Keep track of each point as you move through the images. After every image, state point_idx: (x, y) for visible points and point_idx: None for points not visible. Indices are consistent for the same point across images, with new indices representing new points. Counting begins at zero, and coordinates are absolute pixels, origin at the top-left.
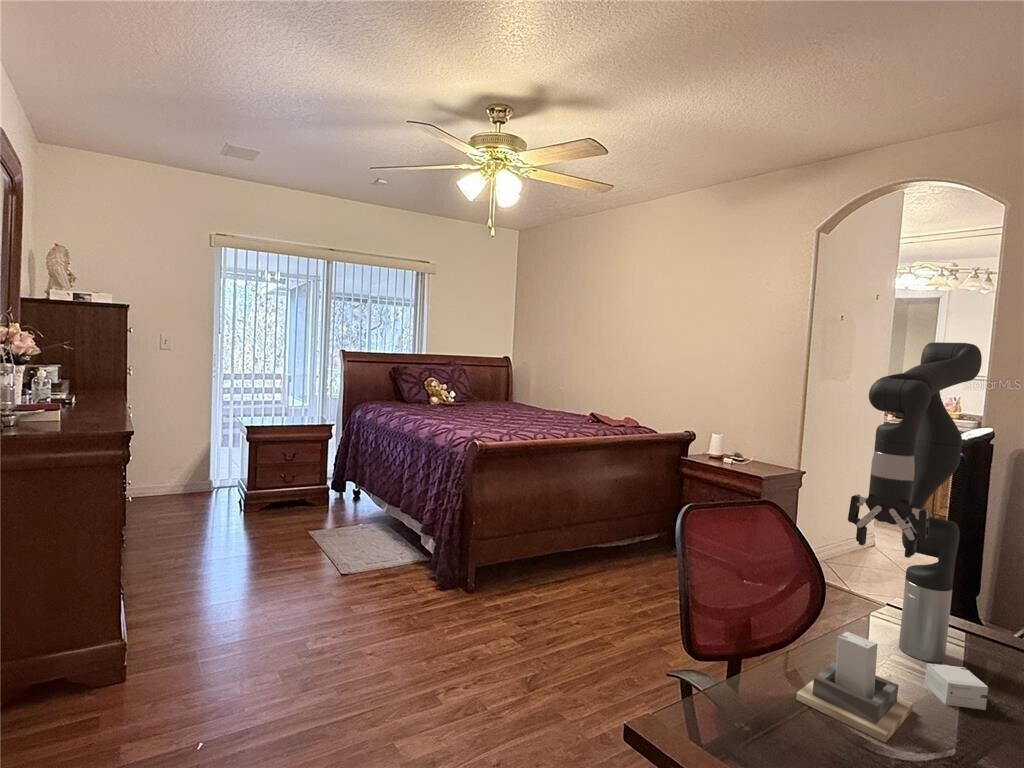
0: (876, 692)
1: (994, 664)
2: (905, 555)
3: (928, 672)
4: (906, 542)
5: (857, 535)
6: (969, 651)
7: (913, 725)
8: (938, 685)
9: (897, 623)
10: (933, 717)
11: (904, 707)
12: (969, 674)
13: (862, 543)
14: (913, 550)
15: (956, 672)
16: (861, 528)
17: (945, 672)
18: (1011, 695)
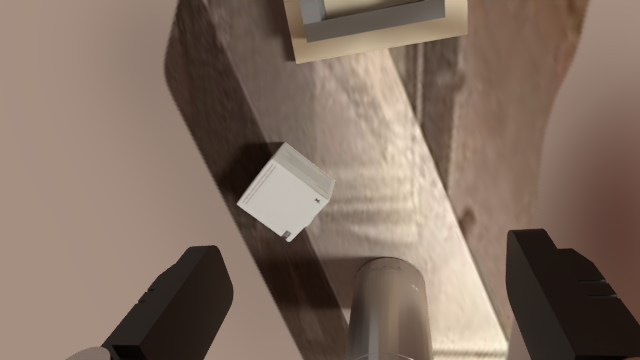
0: (344, 15)
1: (312, 330)
2: (202, 246)
3: (324, 188)
4: (150, 322)
5: (598, 287)
6: None
7: (272, 8)
8: (299, 164)
9: (461, 355)
10: (272, 77)
11: (296, 30)
12: (271, 221)
13: (513, 240)
14: (145, 292)
15: (284, 209)
16: (604, 356)
17: (293, 192)
18: (257, 259)
